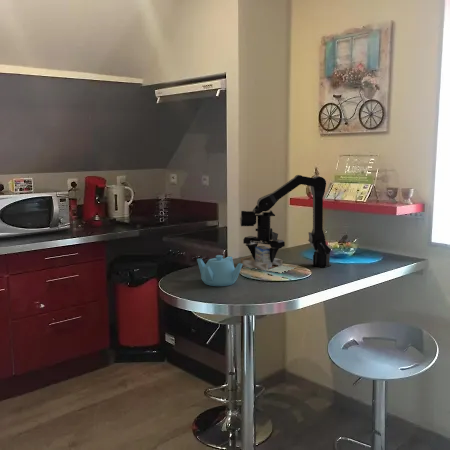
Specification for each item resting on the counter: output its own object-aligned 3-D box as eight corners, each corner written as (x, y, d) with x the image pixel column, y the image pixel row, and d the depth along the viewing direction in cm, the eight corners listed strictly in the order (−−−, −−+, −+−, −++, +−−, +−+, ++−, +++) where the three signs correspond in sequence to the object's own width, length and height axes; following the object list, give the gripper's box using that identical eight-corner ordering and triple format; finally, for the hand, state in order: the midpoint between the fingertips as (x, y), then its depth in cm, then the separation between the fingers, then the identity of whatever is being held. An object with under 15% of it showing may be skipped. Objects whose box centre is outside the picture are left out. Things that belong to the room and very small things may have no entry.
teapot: (243, 286, 195) (244, 258, 193) (205, 289, 191) (205, 260, 190) (232, 277, 210) (233, 251, 208) (196, 279, 206) (196, 252, 204)
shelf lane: (282, 266, 229) (282, 258, 229) (266, 271, 220) (266, 263, 219) (257, 261, 238) (257, 254, 237) (240, 266, 228) (240, 258, 228)
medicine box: (254, 265, 231) (254, 246, 229) (263, 264, 233) (263, 245, 231) (263, 268, 224) (263, 249, 222) (272, 268, 225) (272, 248, 224)
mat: (295, 268, 224) (295, 267, 224) (280, 273, 215) (280, 272, 215) (282, 266, 229) (282, 265, 229) (266, 271, 220) (266, 270, 220)
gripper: (291, 226, 226) (291, 260, 228) (257, 222, 238) (257, 255, 240) (277, 229, 217) (277, 265, 219) (242, 224, 229) (242, 259, 231)
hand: (263, 261), depth 228 cm, fingers closed on medicine box, 9 cm apart
